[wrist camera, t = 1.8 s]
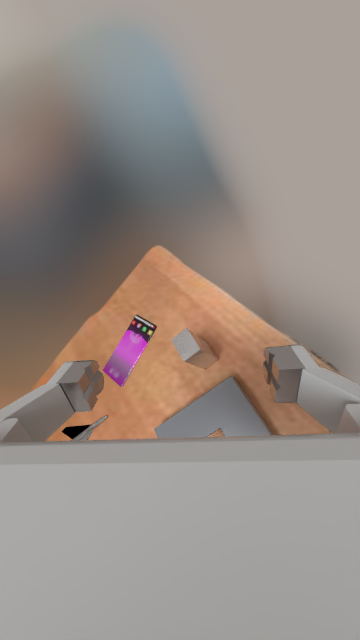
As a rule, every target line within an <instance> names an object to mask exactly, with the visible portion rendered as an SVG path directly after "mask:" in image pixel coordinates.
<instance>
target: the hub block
mask: <svg viewBox="0 0 360 640" xmlns="http://www.w3.org/2000/svg"><path fill="white" fill-rule="evenodd" d="M220 428H221V430H222V432H223V434H224V435H225V437H226V436H264V435H274V434H273V433H272V431H271V430H270V428H269V427H268V426H267V424H266V423H265V421H264V420H263V418H262V417H261V415H260V414H259V412H258V411H257V410H256V408H255V407H254V405H253V404H252V402H251V401H250V399H249V398H248V397H247V395H246V394H245V392H244V391H243V389H242V388H241V386H240V385H239V384H238V382H237V381H236V379H235V378H234V377H232V376H230V377H229V378H227V379H226V380H224V381H223V382H222V383H220V384H219V385H217V386H216V387H214V388H213V389H211V390H210V391H209V392H207V393H206V394H204V395H203V396H201V397H200V398H198V399H197V400H196V401H194V402H193V403H191V404H190V405H188V406H187V407H185V408H184V409H183V410H181V411H180V412H178V413H177V414H175V415H174V416H172V417H171V418H170V419H168V420H167V421H165V422H164V423H162V424H161V425H159V426H158V427H157V428H155V432H156V434H157V437H158V438H189V437H208V436H209V435H211V434H212V433H214V432H216V431H217V430H219V429H220Z"/></svg>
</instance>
